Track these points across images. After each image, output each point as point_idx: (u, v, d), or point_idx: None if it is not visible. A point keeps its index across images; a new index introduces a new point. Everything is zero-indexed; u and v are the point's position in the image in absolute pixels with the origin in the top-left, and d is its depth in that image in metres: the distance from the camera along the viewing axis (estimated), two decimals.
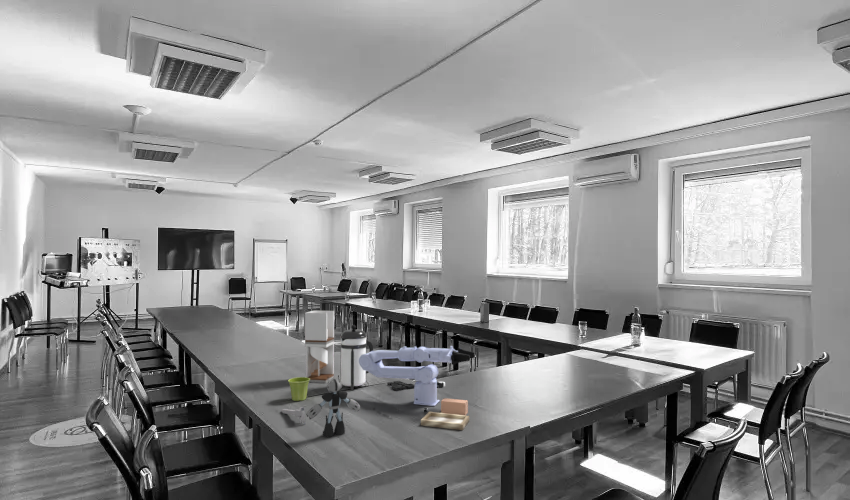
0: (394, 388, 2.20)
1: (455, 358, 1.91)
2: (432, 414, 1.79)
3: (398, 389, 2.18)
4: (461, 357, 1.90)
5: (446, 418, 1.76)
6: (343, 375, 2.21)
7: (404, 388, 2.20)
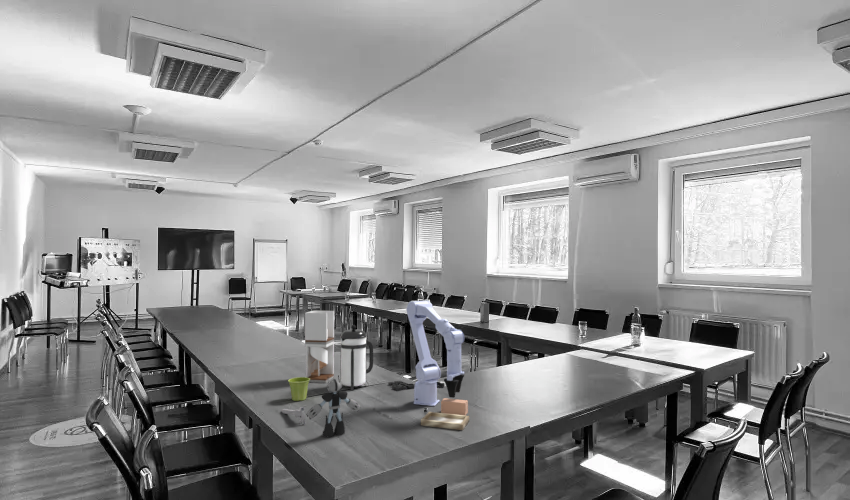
0: (395, 388, 2.20)
1: (450, 382, 1.82)
2: (432, 414, 1.79)
3: (399, 389, 2.18)
4: (451, 389, 1.82)
5: (446, 418, 1.76)
6: (343, 375, 2.21)
7: (405, 388, 2.20)
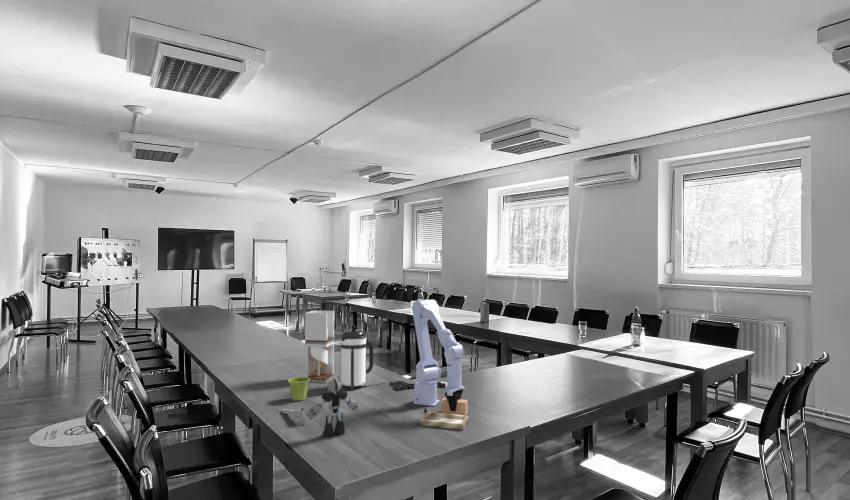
0: (396, 388, 2.20)
1: (451, 395, 1.83)
2: (432, 414, 1.79)
3: (399, 389, 2.18)
4: (452, 402, 1.83)
5: (446, 418, 1.76)
6: (343, 375, 2.21)
7: (405, 388, 2.20)
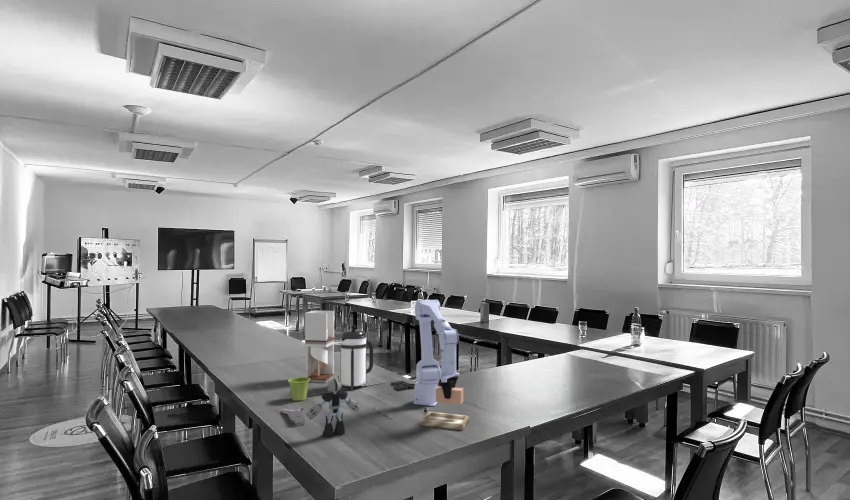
0: (396, 388, 2.20)
1: (446, 382, 1.76)
2: (432, 414, 1.79)
3: (400, 389, 2.18)
4: (447, 390, 1.75)
5: (446, 418, 1.76)
6: (343, 375, 2.21)
7: (406, 388, 2.20)
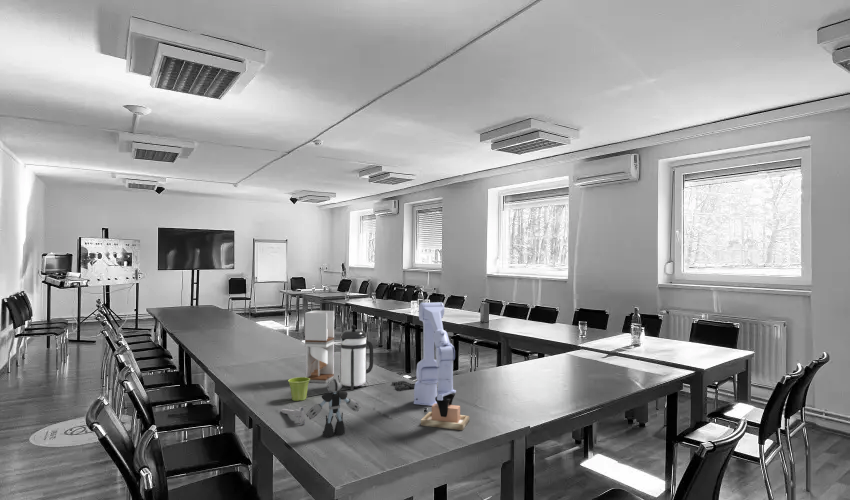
0: (397, 388, 2.20)
1: (442, 400, 1.71)
2: None
3: (401, 389, 2.18)
4: (443, 407, 1.71)
5: None
6: (343, 375, 2.21)
7: (407, 388, 2.20)
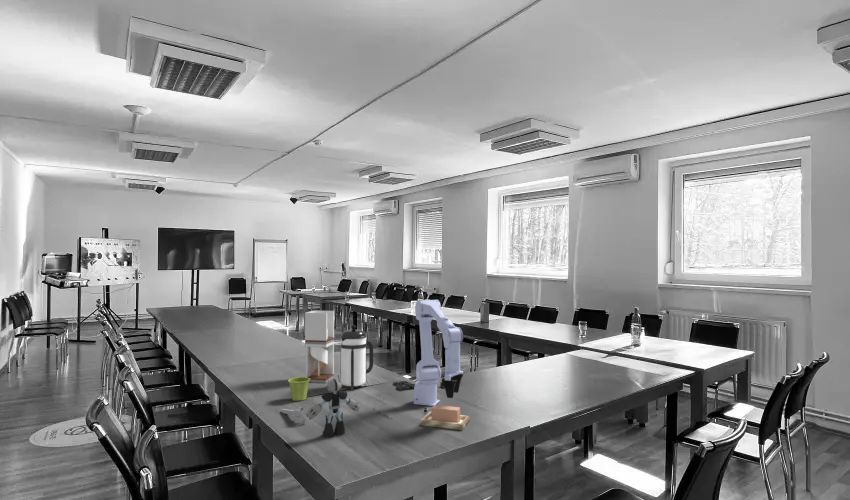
0: (398, 388, 2.20)
1: (448, 382, 1.74)
2: None
3: (402, 389, 2.18)
4: (449, 389, 1.74)
5: None
6: (343, 375, 2.21)
7: (408, 388, 2.20)
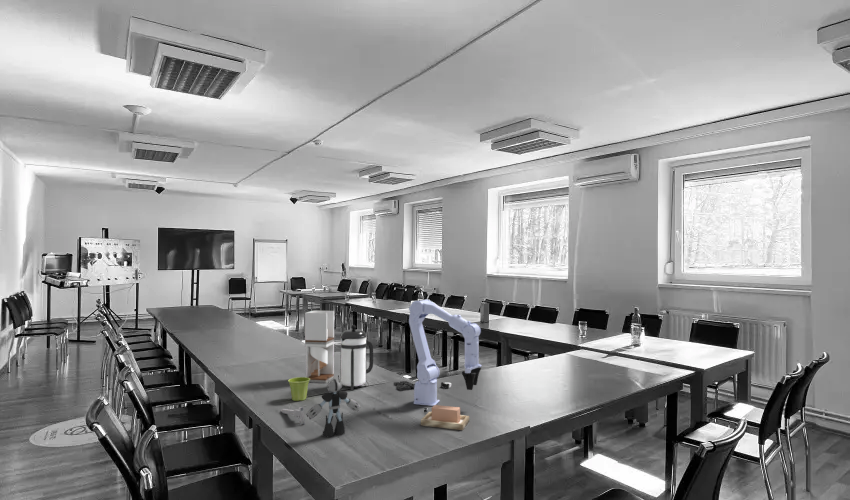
0: (399, 388, 2.20)
1: None
2: None
3: (402, 389, 2.18)
4: (469, 381, 1.85)
5: None
6: (343, 375, 2.21)
7: (409, 388, 2.20)
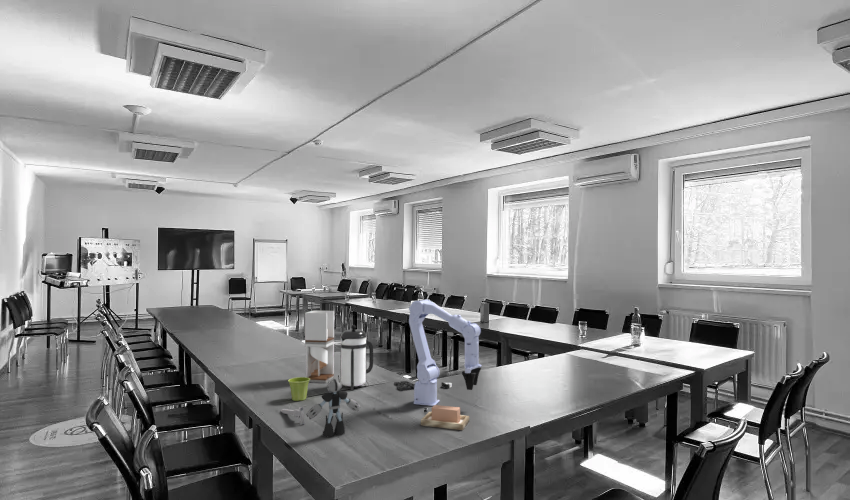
0: (399, 388, 2.20)
1: None
2: None
3: (403, 389, 2.18)
4: (469, 381, 1.85)
5: None
6: (343, 375, 2.21)
7: (409, 388, 2.19)
